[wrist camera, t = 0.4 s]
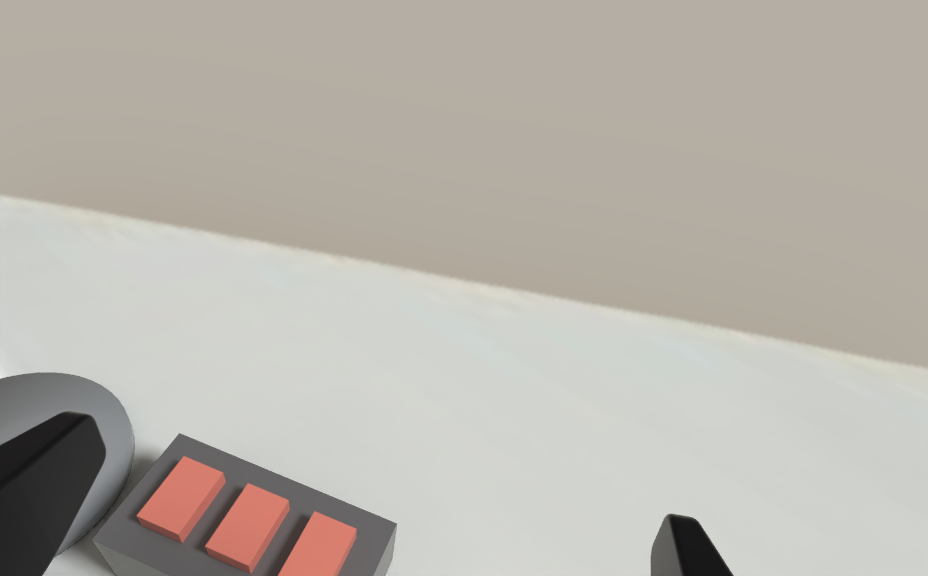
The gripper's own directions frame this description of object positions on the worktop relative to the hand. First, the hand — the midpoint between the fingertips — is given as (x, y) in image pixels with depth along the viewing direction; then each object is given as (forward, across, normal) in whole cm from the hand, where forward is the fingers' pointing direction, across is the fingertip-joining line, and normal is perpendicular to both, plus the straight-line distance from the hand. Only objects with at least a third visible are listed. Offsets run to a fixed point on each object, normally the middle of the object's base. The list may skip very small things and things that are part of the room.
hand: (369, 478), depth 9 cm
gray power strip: (+6, +6, +15) cm, 17 cm away
